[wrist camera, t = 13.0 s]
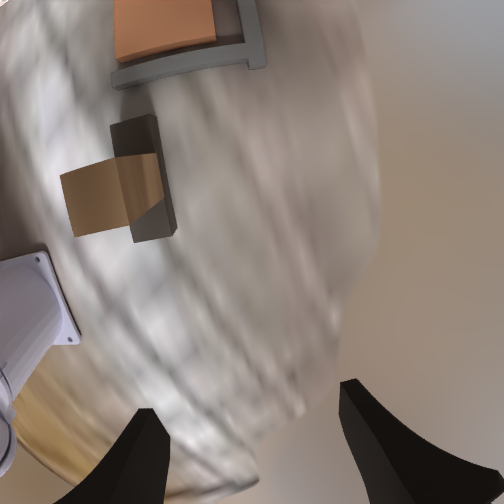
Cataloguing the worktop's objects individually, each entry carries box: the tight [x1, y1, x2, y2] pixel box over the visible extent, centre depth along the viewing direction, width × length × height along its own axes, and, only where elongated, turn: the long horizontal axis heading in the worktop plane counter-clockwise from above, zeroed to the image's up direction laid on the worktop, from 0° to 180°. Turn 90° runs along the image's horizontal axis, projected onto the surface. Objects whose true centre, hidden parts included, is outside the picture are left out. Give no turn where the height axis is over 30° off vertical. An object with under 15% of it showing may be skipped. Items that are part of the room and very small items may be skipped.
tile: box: [114, 0, 217, 63], centre depth 13 cm, size 6×6×2 cm
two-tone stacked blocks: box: [60, 114, 177, 243], centre depth 13 cm, size 2×7×8 cm, turn 8°
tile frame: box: [111, 0, 267, 90], centre depth 13 cm, size 9×11×1 cm
